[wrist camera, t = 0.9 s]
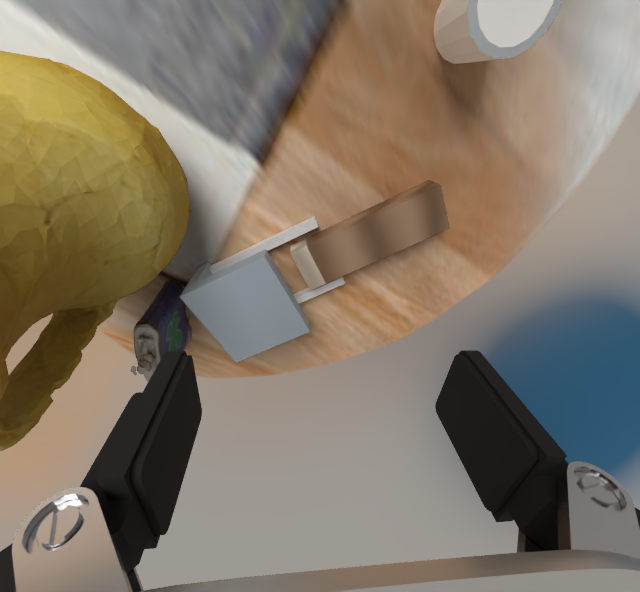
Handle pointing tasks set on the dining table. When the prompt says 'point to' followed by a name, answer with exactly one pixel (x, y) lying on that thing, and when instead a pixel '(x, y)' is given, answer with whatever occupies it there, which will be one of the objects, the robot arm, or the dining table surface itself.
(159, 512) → the robot arm
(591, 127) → the dining table surface
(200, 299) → the grey block with rails
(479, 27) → the white short cylinder
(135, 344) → the flask
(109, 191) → the pitcher
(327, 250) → the walnut slat
